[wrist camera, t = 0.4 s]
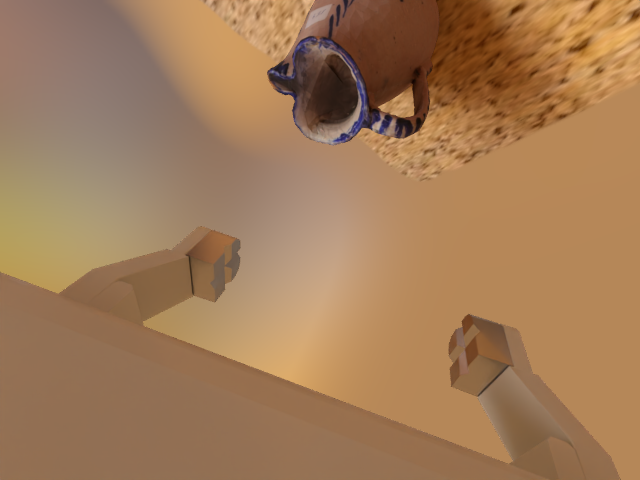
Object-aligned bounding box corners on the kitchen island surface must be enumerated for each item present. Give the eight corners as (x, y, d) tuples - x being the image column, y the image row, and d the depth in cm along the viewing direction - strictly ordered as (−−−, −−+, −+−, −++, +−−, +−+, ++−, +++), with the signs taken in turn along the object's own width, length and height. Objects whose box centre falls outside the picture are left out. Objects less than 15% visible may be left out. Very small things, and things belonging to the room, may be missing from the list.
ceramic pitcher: (344, -73, 43) (234, -4, 31) (503, -53, 37) (440, 42, 25) (340, 58, 57) (264, 138, 46) (453, 87, 52) (399, 187, 40)
